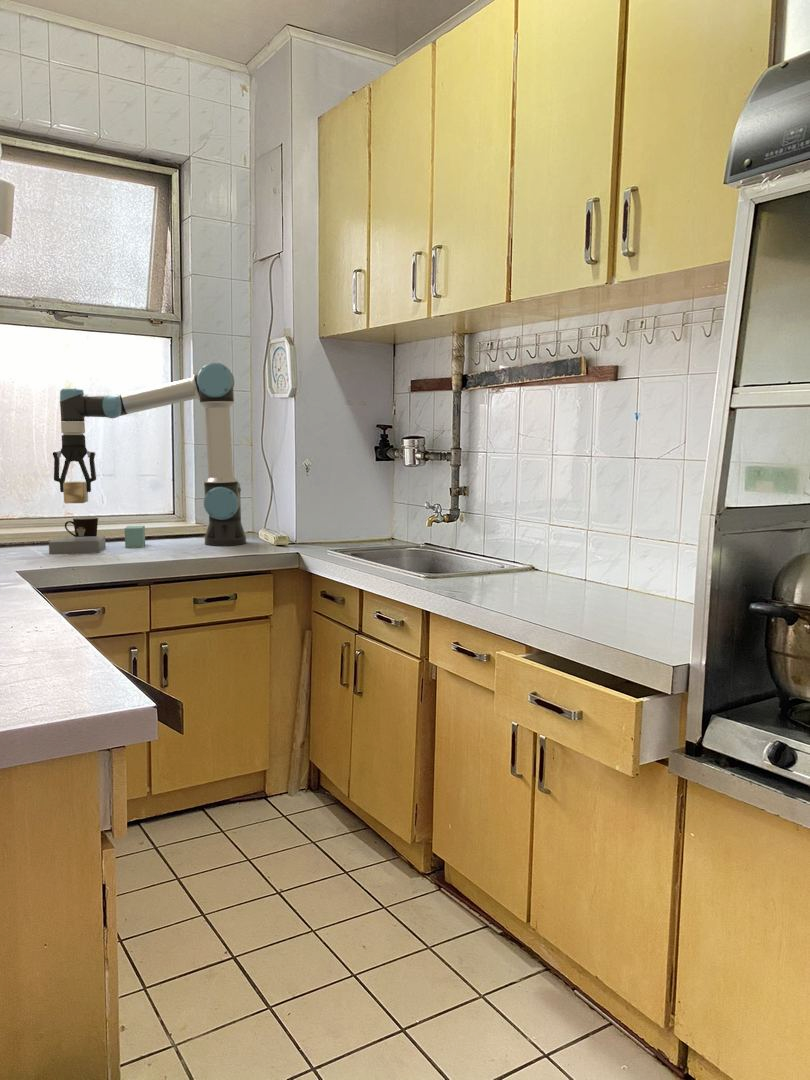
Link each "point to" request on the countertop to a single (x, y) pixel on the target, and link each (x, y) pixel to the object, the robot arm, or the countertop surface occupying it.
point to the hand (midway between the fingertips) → (76, 501)
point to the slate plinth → (77, 545)
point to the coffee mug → (84, 526)
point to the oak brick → (74, 492)
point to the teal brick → (134, 536)
